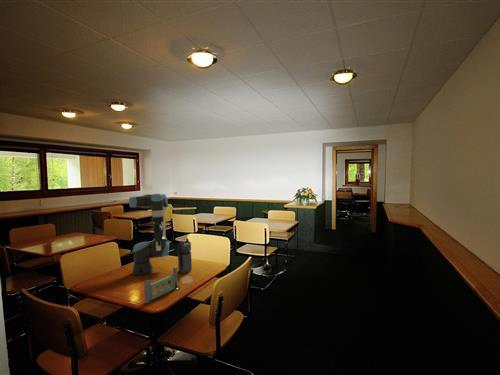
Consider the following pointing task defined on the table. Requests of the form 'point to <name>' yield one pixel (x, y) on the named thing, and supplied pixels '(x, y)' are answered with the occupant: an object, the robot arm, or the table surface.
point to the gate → (166, 288)
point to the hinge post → (175, 279)
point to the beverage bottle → (184, 257)
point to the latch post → (147, 291)
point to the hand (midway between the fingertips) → (158, 250)
